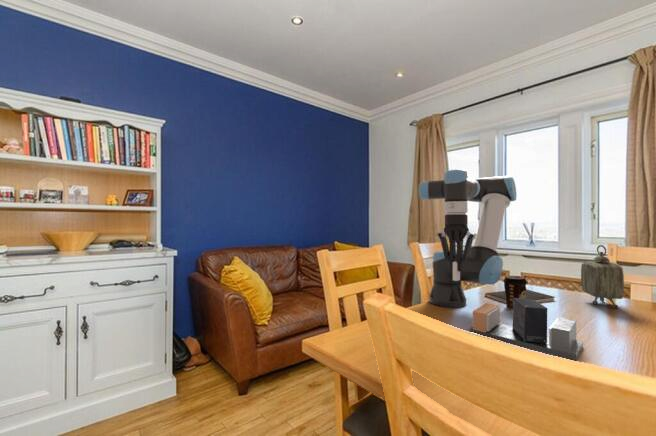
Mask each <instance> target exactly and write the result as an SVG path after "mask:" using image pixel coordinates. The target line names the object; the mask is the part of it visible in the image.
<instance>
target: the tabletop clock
mask: <svg viewBox="0 0 656 436" xmlns="http://www.w3.org/2000/svg"><path fill="white" fill-rule="evenodd" d="M596 247H597V248H596V252H597V254H598V256H595V257H594V259H593V260H592V261H590V260H589V261H586V262H583V263H581V269H580V283H581V284H580V285H581V290H582V291H583V292H585V293H587V294H588V295H589V296H591V297H594V299H593V300H592V304H593V305H598V299H599V301H601V302H605V299H607V300H609V301H610V303H611V304H612V306H613V308H614V309H619V306H618V304H616V303H615V301H614V300H613V299H615V300H622V299H623V297H624V292H625V291H624V289H625V288H624V287H625V281H624V280H625V276H624V270H623V267H622V266H621V265H620V264H618V263H616V262H613V261H610V259H609V258H608V257H607V256H606V255H607V248H606V247H605V245H603V244H599V245H598V246H596ZM600 247H601V248H603V249H604V251H599V249H600Z"/></svg>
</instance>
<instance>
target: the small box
mask: <svg viewBox="0 0 656 436" xmlns="http://www.w3.org/2000/svg"><path fill="white" fill-rule="evenodd" d="M511 326H512V329H513V330H514V332H515V333H516V334H517V335H518V336H519V337H520V338H521V339H522V340H523V341H524V342H537V343H547V334H548V307H546V306H544V305H543V304H541V302H537V301H535V300H534V299H523V298H513V310H512V325H511Z"/></svg>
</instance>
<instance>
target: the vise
mask: <svg viewBox="0 0 656 436" xmlns="http://www.w3.org/2000/svg"><path fill="white" fill-rule="evenodd" d="M512 326H513V325H507V324H503V323H501V322H500V323H499V324H497V325H496V326H495V327H494V328H492V329H491V330H490V331H487V332H486V333H485V332H481V331H477V330H473V325H472V326H471V327H469V328H468V332H469V331H470V332H474V333H477V334H480V335H483V336H487V337H491V338H494V339H497V340H501V341H504V342H503V343H505V342H507V343H506V344H509V343H510V344H509V345H513V344H514V346H517V345H518V347H521V348H525V349H528V350H533V351H538V352H540V353H544V354H545V353H546V354H548V355H552V356H557V357H560V358H565V359H568V360H572V361H575V362H576V361H577V360H578V358H579V356H580V354H581V352H582V350H583V348H584V342H583V341H581V340H577V319H571V318H567V317H561V316H559V317H558V318H556V319H555V320H554V322H553V323H552V324H551V325H550V326H549V329H548V331H549V333H547V343H537V342H524V341H523V340H522V339H521V338H520V337H519V336H518V335H517V334H516V333H515V332H514V330H513V329H512ZM497 340H496V341H497ZM501 341H500V342H501Z"/></svg>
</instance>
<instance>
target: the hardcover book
mask: <svg viewBox="0 0 656 436" xmlns="http://www.w3.org/2000/svg"><path fill="white" fill-rule="evenodd" d="M484 297H487V298H490V299H493V300H496V301H499V302H502V303H505V304H506V298H505V297H506V296H505V290H502V291H490V292H486V293H485V294H484ZM555 298H556V296H554V295H549V294H546V293H542V292H538V291H534V290H530V289H527V288H526V298H525V299H534V300H535V301H537V302H538V303H543V302H544V303H545V302H546V303H547V302H553V301H555Z"/></svg>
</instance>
